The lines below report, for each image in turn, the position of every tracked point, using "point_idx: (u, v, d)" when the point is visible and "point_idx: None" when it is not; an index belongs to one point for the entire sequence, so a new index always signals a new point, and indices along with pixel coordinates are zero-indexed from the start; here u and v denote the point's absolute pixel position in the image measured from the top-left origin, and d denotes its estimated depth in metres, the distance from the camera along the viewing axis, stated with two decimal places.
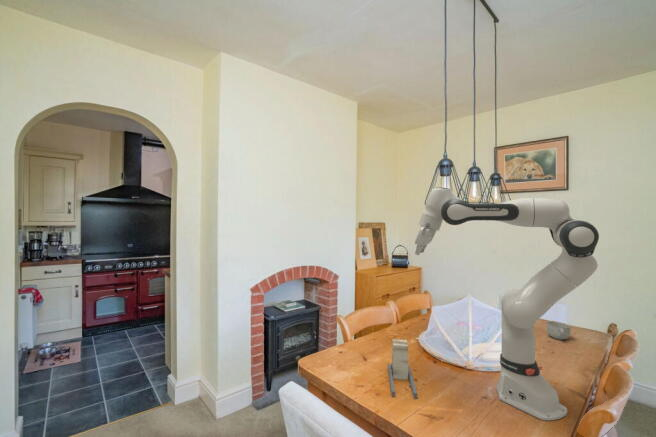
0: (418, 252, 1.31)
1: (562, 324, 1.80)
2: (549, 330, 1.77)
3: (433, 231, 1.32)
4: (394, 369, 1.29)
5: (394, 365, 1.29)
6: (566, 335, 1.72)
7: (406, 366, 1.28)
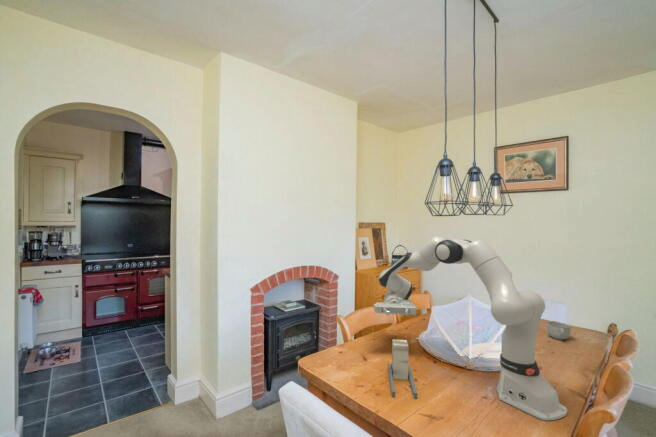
0: (385, 311, 1.49)
1: (562, 324, 1.80)
2: (549, 330, 1.77)
3: (391, 301, 1.59)
4: (394, 369, 1.29)
5: (394, 365, 1.29)
6: (566, 335, 1.72)
7: (406, 366, 1.28)
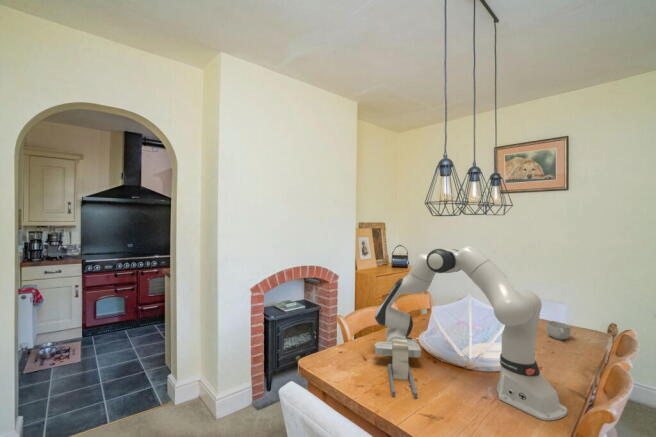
0: None
1: (562, 324, 1.80)
2: (549, 330, 1.77)
3: None
4: (394, 369, 1.29)
5: (394, 365, 1.29)
6: (566, 335, 1.72)
7: (406, 366, 1.28)
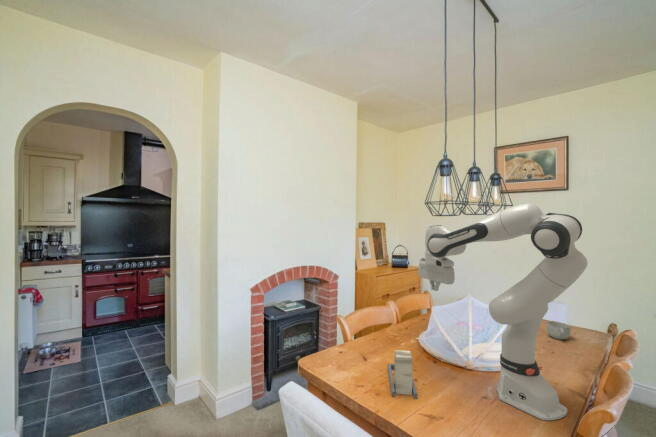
0: None
1: (562, 324, 1.80)
2: (549, 330, 1.77)
3: (428, 265, 1.45)
4: (397, 383, 1.18)
5: (397, 379, 1.18)
6: (566, 335, 1.72)
7: (409, 380, 1.18)
